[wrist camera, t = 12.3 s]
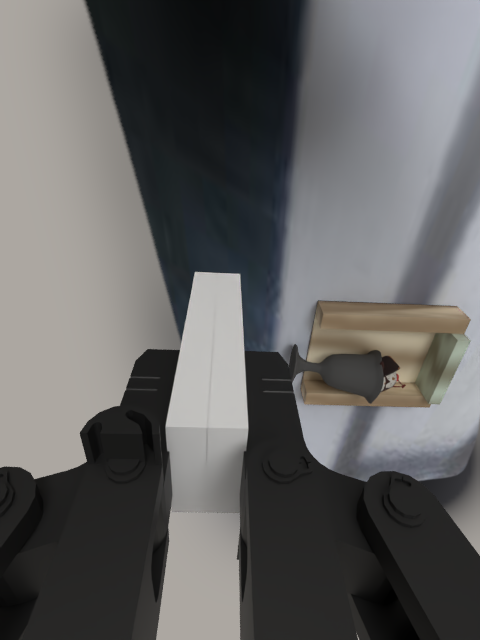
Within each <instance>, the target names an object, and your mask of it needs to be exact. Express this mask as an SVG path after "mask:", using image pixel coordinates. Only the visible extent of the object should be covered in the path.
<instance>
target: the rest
mask: <svg viewBox="0 0 480 640" xmlns="http://www.w3.org/2000/svg"><path fill="white" fill-rule="evenodd" d="M470 320H471V319H470V318H469V317H468V316H467V315H466V314H464V313H463V312H462V311H461V310H460V309H459V308H458V307H457V306H439V305H414V304H389V303H364V302H339V301H318V303H317V308H316V313H315V318H314V324H313V329H312V334H311V339H310V344H309V349H308V354H307V359H306V361H308V362H312V363H320V362H322V361H323V360H324V359H325V358H327V357H328V356H330V355H332V354H368V353H369V352H370V351H373V350H378V351H380V352H381V356H382V357H384V356H391V357H392V358H393V359H394V360H395V362H396V363H397V364H398V365H399V367H400V369H399V370H398V371H396V373H397V374H398V375H399V381H400V382H401V384H405V385H406V386H405V387H404V388H402V387H391V388H390V389H388V390H386V391H383V392H381V393H380V394H379V395H378V397H377V398H376V399H375V400H374V401H373V402H372V403H371V404H370V403H368V401H367V400H366V399H365V397H362V396H359V395H356V394H353V393H350V392H346V391H343V390H339V389H336V388H334V387H331V386H329V385H327V384H326V383H325V381H324V380H323V379H322V377H321V375H320V374H319V373H317V372H312V371H304V374H303V379H302V384H301V392H302V396H303V400H304V404H314V405H354V406H393V407H430V405H431V404H440V403H441V401H442V399H443V397H444V395H445V392H446V390H447V388H448V386H449V384H450V382H451V380H452V378H453V376H454V374H455V372H456V370H457V368H458V366H459V364H460V362H461V360H462V358H463V356H464V354H465V351H466V349H467V347H468V345H469V343H470V340H469V339H468V338H467V337H466V336H465V334H464V333H465V331H466V328H467V326H468V324H469V322H470ZM401 384H400V383H399V382H398V381H397V382H396V383H395V385H394V386H402V385H401Z"/></svg>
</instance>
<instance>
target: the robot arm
mask: <svg viewBox="0 0 480 640" xmlns="http://www.w3.org/2000/svg"><path fill="white" fill-rule="evenodd" d="M293 391H294V390H293V386H292V382H291V376H290V371H289V367H288V364H287V363H286V361H285V360H284V359H283V358H282V357H281V355H280V354H279V353H278V352H257V351H244V337H243V319H242V300H241V282H240V274H229V273H206V272H195V275H194V280H193V286H192V291H191V296H190V301H189V306H188V312H187V317H186V322H185V327H184V332H183V338H182V343H181V348H180V350H157V349H155V350H154V349H148V350H146V351H145V352H144V353H143V354H142V355H141V356H140V357H139V358H138V359H137V360H136V361H135V364H134V367H133V370H132V373H131V378H130V379H129V382H128V384H127V387H126V391H125V393H124V396H123V399H122V401H121V404H120V406H116V407H112V408H110V409H107V410H104V411H102V412H100V413H98V414H97V415H96V416H94V417H93V418H92V419H90V420H89V421H88V422H87V423H86V425H85V426H84V428H83V429H82V431H81V432H80V436H81V439H82V443H83V447H84V451H85V455H86V459H87V462H86V463H84V464H82V465H80V466H79V467H76V468H74V469H70V470H68V471H64V472H60V473H57V474H53V475H49V476H46V477H42V478H38V479H34V478H33V477H32V475H31V473H29V472H28V471H26V470H24V469H22V468H20V467H2V468H0V640H156V634H157V628H158V620H159V613H160V605H161V598H162V590H163V583H164V575H165V567H166V559H167V552H168V545H169V531H168V523H169V517H170V509H171V507H172V512H217V513H240V535H239V545H238V555H237V559H238V560H239V577H240V578H239V580H240V637H241V638H240V639H241V640H358V638H357V635H358V637H359V640H480V556H479V554H478V553H477V552H476V550H475V549H474V548H473V546H472V545H471V544H470V542H469V541H468V540H467V538H466V537H465V536H464V534H463V533H462V532H461V531H460V529H459V528H458V526H457V525H456V524H455V523H454V521H453V520H452V518H451V517H450V516H449V514H448V513H447V512H446V510H445V509H444V508H443V506H442V505H441V504H440V503H439V501H438V500H437V498H436V497H435V496H434V495H433V494H432V493H431V492H430V491H429V490H428V489H427V488H426V487H425V486H424V485H423V484H422V483H420V482H418V481H417V480H415V479H414V478H412V477H410V476H408V475H405V474H402V473H398V472H395V471H385V472H379V473H377V474H375V475H373V476H371V477H370V478H369V480H368V481H367V482H364V481H361V480H358V479H355V478H352V477H348V476H345V475H342V474H339V473H337V472H334V471H332V470H330V469H328V468H326V467H325V466H323V465H322V464H320V463H319V462H318V461H317V460H316V459H315V458H314V457H313V455H312V454H311V453H310V452H309V450H308V449H307V447H306V444H305V441H304V438H303V433H302V428H301V424H300V419H299V414H298V409H297V405H296V400H295V395H294V393H293ZM356 632H357V634H356Z"/></svg>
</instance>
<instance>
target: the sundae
mask: <svg viewBox="0 0 480 640" xmlns="http://www.w3.org/2000/svg"><path fill="white" fill-rule="evenodd" d="M399 369H400V367H399V365H398V364H397V363H396V362H395V360H394V359H393V358H392V357H391V356H384V357H382V356H381V352H380V351H378V350H373V351H370V352H369V353H368V354H332V355H330V356H328V357H327V358H325V359H324V360H323V361H322V362H320V363H312V362H308V361H305V360H303V359H302V358H301V357H300V356H299V353H298V347H297V345H296V344H295V345H294V346H293V349H292V352H291V357H290V363H289V371H290V376H291V382H293V380H294V378H295V376H296V375H297V374H298V373H300V372H302V371H312V372H317V373H319V374H320V375H321V377H322V379H323V380H324V381H325V383H326V384H327V385H329V386H331V387H334V388H336V389H339V390H343V391H346V392H350V393H353V394H356V395H359V396H362V397H365V399H366V400H367V401H368V403H370V404H371V403H372V402H373V401H374V400H375V399H376V398H377V397H378V395H379V394H380V393H381V392H383V391H386V390H388V389H390V388H391V387H402V388H404V387H405V386H406V385H405V384H401V382H400V381H399V375H398V374H397V373H396V371H398V370H399ZM397 381H398V382H399V383H400V384H401V385H402V386H394V385H395V383H396V382H397Z"/></svg>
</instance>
